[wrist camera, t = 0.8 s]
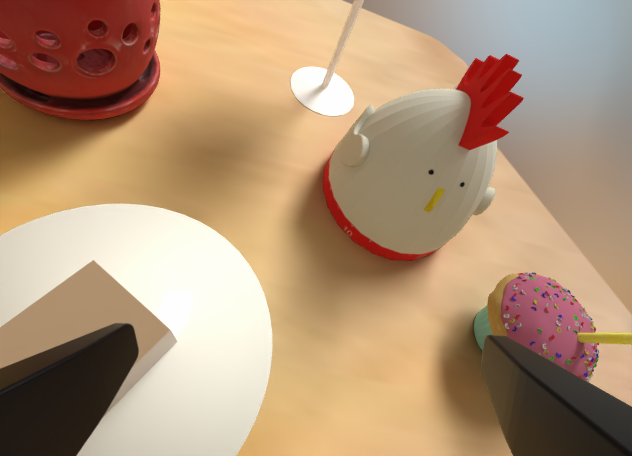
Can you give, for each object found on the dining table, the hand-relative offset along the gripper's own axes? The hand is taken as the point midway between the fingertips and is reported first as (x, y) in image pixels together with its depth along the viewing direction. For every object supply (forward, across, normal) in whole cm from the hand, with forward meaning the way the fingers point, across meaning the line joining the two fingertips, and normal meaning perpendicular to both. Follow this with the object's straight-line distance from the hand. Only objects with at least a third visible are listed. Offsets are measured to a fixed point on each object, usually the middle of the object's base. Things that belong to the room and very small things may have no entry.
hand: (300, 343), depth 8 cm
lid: (+5, +10, +4) cm, 12 cm away
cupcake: (+19, -14, +13) cm, 27 cm away
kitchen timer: (+25, -5, +1) cm, 25 cm away
